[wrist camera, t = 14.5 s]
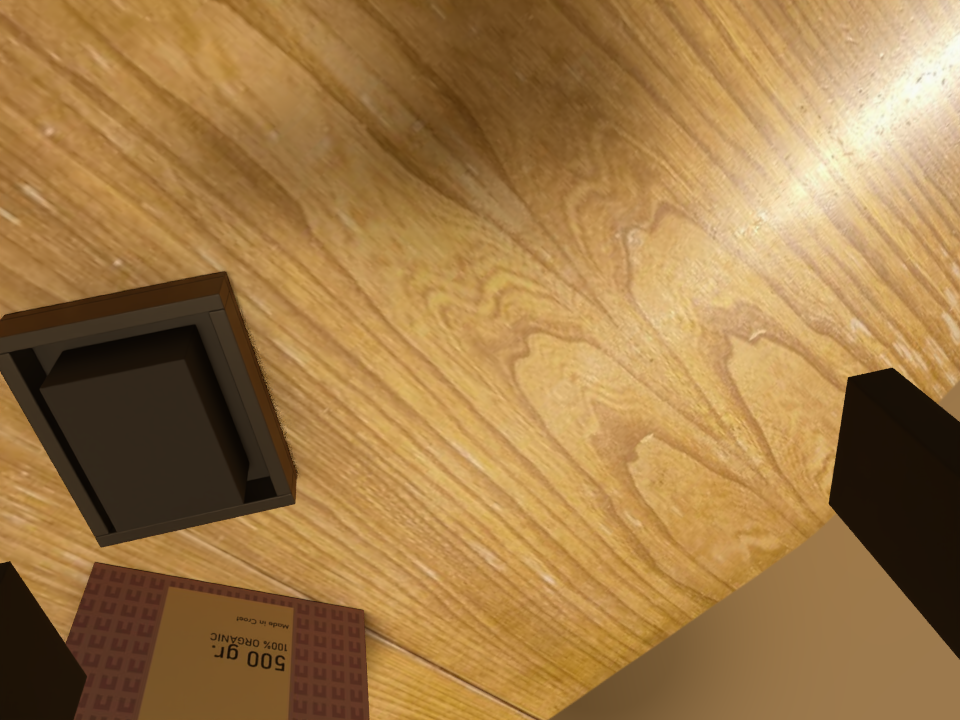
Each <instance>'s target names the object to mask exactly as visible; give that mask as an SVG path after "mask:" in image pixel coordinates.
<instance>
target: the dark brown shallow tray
mask: <svg viewBox="0 0 960 720" xmlns="http://www.w3.org/2000/svg"><path fill="white" fill-rule="evenodd" d="M190 325H196V327H197V330H198V332H199V335H200V337H201V340H202V343H203V345H204V348H205V350H206V353H207V355H208V358H209V361H210V363H211V366H212V368H213V371H214V373H215V376H216V378H217V381H218V384H219V386H220V389H221V391H222V394H223V396H224V399H225V402H226V404H227V407H228V409H229V412H230V414H231V417H232V420H233V422H234V425H235V427H236V430H237V432H238V435H239V438H240V440H241V443H242V445H243V448H244V450H245V453H246V455H247V458H248V461H249V470H248V477H247V484H246V491H245V498H244V504H243V505H240V506H235V507H231V508H226V509H222V510H217V511H213V512H208V513H204V514H199V515H195V516H190V517H186V518H181V519H177V520H172V521H168V522H163V523H159V524H154V525H150V526H145V527H141V528H136V529H132V530H127V531H123V532H117V531H116V529H115V527H114V525H113V524H112V522H111V520H110V518H109V516H108V514H107V513H106V511H105V509H104V507H103V505H102V503H101V502H100V500H99V498H98V496H97V494H96V492H95V491H94V489H93V487H92V485H91V483H90V481H89V480H88V478H87V476H86V474H85V472H84V470H83V469H82V467H81V465H80V463H79V461H78V459H77V458H76V456H75V454H74V452H73V450H72V448H71V447H70V445H69V443H68V441H67V439H66V437H65V436H64V434H63V432H62V430H61V428H60V426H59V425H58V423H57V421H56V419H55V417H54V415H53V414H52V412H51V410H50V408H49V406H48V404H47V403H46V401H45V399H44V397H43V395H42V393H41V392H40V387H41V386H42V384H43V382H44V381H45V379H46V377H47V376H48V374H49V372H50V371H51V369H52V367H53V366H54V364H55V363H56V361H57V359H58V358H59V356H60V354H61V353H62V352H63V351H66V350H71V349H76V348H81V347H86V346H91V345H96V344H101V343H106V342H111V341H116V340H121V339H126V338H130V337H135V336H140V335H145V334H150V333H155V332H160V331H165V330H170V329H175V328H180V327H185V326H190ZM0 372H1V374H2V375H3V377H4V379H5V381H6V382H7V384H8V386H9V388H10V389H11V391H12V393H13V395H14V396H15V398H16V400H17V402H18V403H19V405H20V407H21V409H22V410H23V412H24V414H25V416H26V417H27V419H28V421H29V423H30V424H31V426H32V428H33V430H34V431H35V433H36V435H37V437H38V438H39V440H40V442H41V444H42V445H43V447H44V449H45V451H46V452H47V454H48V456H49V457H50V459H51V461H52V463H53V464H54V466H55V468H56V470H57V471H58V473H59V475H60V477H61V478H62V480H63V482H64V484H65V485H66V487H67V489H68V491H69V492H70V494H71V496H72V498H73V499H74V501H75V503H76V505H77V506H78V508H79V510H80V512H81V513H82V515H83V517H84V519H85V520H86V522H87V524H88V526H89V527H90V529H91V531H92V533H93V534H94V536H95V538H96V540H97V542H98V544H99V545H100V547H106V546H110V545H114V544H119V543H123V542H128V541H132V540H137V539H141V538H146V537H150V536H155V535H159V534H164V533H168V532H172V531H177V530H181V529H186V528H190V527H195V526H199V525H204V524H208V523H213V522H217V521H222V520H226V519H231V518H235V517H239V516H244V515H248V514H253V513H257V512H262V511H266V510H271V509H275V508H280V507H284V506H289V505H293V504H295V500H296V480H297V473H296V471H295V468H294V465H293V462H292V459H291V456H290V453H289V451H288V448H287V445H286V442H285V439H284V436H283V434H282V431H281V428H280V425H279V422H278V419H277V417H276V414H275V411H274V408H273V405H272V402H271V399H270V397H269V394H268V391H267V388H266V385H265V382H264V380H263V377H262V374H261V371H260V368H259V365H258V363H257V360H256V357H255V354H254V351H253V348H252V345H251V343H250V340H249V337H248V334H247V331H246V328H245V326H244V323H243V320H242V317H241V314H240V311H239V309H238V306H237V303H236V300H235V297H234V294H233V292H232V289H231V286H230V283H229V280H228V277H227V274H226V272H220V273H215V274H210V275H205V276H200V277H195V278H190V279H185V280H180V281H175V282H170V283H165V284H160V285H155V286H150V287H145V288H140V289H135V290H130V291H125V292H120V293H115V294H110V295H105V296H100V297H95V298H90V299H85V300H80V301H75V302H70V303H65V304H60V305H55V306H50V307H45V308H40V309H35V310H29V311H24V312H19V313H14V314H9V315H4V316H3V317H2V318H1V320H0Z"/></svg>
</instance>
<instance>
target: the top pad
mask: <svg viewBox="0 0 960 720" xmlns="http://www.w3.org/2000/svg"><path fill="white" fill-rule="evenodd" d="M40 392H41V393H42V395H43V397H44V399H45V401H46V403H47V404H48V406H49V408H50V410H51V412H52V414H53V415H54V417H55V419H56V421H57V423H58V425H59V426H60V428H61V430H62V432H63V434H64V436H65V437H66V439H67V441H68V443H69V445H70V447H71V448H72V450H73V452H74V454H75V456H76V458H77V459H78V461H79V463H80V465H81V467H82V469H83V470H84V472H85V474H86V476H87V478H88V480H89V481H90V483H91V485H92V487H93V489H94V491H95V492H96V494H97V496H98V498H99V500H100V502H101V503H102V505H103V507H104V509H105V511H106V513H107V514H108V516H109V518H110V520H111V522H112V524H113V525H114V527H115V529H116V531H117V532H123V531H127V530H132V529H136V528H141V527H145V526H150V525H154V524H159V523H163V522H168V521H172V520H177V519H181V518H186V517H190V516H195V515H199V514H204V513H208V512H213V511H217V510H222V509H226V508H231V507H235V506H240V505H243V504H244V498H245V491H246V484H247V477H248V470H249V461H248V458H247V455H246V453H245V450H244V448H243V445H242V443H241V440H240V438H239V435H238V432H237V430H236V427H235V425H234V422H233V420H232V417H231V414H230V412H229V409H228V407H227V404H226V402H225V399H224V396H223V394H222V391H221V389H220V386H219V384H218V381H217V378H216V376H215V373H214V371H213V368H212V366H211V363H210V361H209V358H208V355H207V353H206V350H205V348H204V345H203V343H202V340H201V337H200V335H199V332H198V330H197V327H196V325H190V326H185V327H180V328H175V329H170V330H165V331H160V332H155V333H150V334H145V335H140V336H135V337H130V338H126V339H121V340H116V341H111V342H106V343H101V344H96V345H91V346H86V347H81V348H76V349H71V350H66V351H63V352H62V353H61V354H60V356H59V358H58V359H57V361H56V363H55V364H54V366H53V367H52V369H51V371H50V372H49V374H48V376H47V377H46V379H45V381H44V382H43V384H42V386H41V387H40Z"/></svg>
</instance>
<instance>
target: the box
mask: <svg viewBox="0 0 960 720" xmlns="http://www.w3.org/2000/svg"><path fill="white" fill-rule="evenodd" d="M66 645H67V647H68V648H69V650H70V651H71V653H72V654H73V656H74V657H75V659H76V660H77V662H78V663H79V665H80V666H81V668H82V669H83V671H84V672H85V674H86V675H87V679H86V682H85V685H84V688H83V692H82V695H81V698H80V701H79V704H78V708H77V711H76V714H75V717H74V720H369V701H368V682H367V663H366V644H365V625H364V610H358V609H353V608H347V607H341V606H336V605H330V604H325V603H319V602H313V601H308V600H302V599H297V598H291V597H285V596H280V595H274V594H269V593H263V592H257V591H252V590H246V589H240V588H235V587H229V586H224V585H218V584H212V583H207V582H201V581H196V580H190V579H184V578H179V577H173V576H168V575H162V574H156V573H151V572H145V571H139V570H134V569H128V568H123V567H117V566H111V565H106V564H100V563H94V566H93V569H92V572H91V574H90V577H89V580H88V583H87V586H86V588H85V591H84V594H83V597H82V600H81V602H80V605H79V608H78V611H77V614H76V616H75V619H74V622H73V625H72V628H71V630H70V633H69V636H68V639H67V641H66Z"/></svg>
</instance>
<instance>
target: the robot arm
mask: <svg viewBox="0 0 960 720" xmlns="http://www.w3.org/2000/svg"><path fill="white" fill-rule="evenodd" d="M829 505H830V506H831V507H832V508H833V510H834V511H835V512H836V513H837V514H838V516H839V517H840V518H841V519H842V520H843V521H844V523H845V524H846V525H847V526H848V527H849V529H850V530H851V531H852V532H853V533H854V535H855V536H856V537H857V538H858V539H859V540H860V542H861V543H862V544H863V545H864V546H865V548H866V549H867V550H868V551H869V552H870V553H871V555H872V556H873V557H874V558H875V559H876V561H877V562H878V563H879V564H880V565H881V567H882V568H883V569H884V570H885V571H886V573H887V574H888V575H889V576H890V577H891V578H892V580H893V581H894V582H895V583H896V584H897V586H898V587H899V588H900V589H901V590H902V592H903V593H904V594H905V595H906V596H907V597H908V599H909V600H910V601H911V602H912V603H913V604H914V606H915V607H916V608H917V609H918V610H919V612H920V613H921V614H922V615H923V616H924V618H925V619H926V620H927V621H928V622H929V624H930V625H931V626H932V627H933V628H934V630H935V631H936V632H937V633H938V634H939V635H940V637H941V638H942V639H943V640H944V641H945V643H946V644H947V645H948V646H949V647H950V649H951V650H952V651H953V652H954V653H955V655H956V656H957V657H958V658H959V659H960V422H959V421H958V420H957V419H955V418H954V417H953V416H951V415H950V414H949V413H948V412H947V411H945V410H944V409H943V408H942V407H940V406H939V405H938V404H937V403H936V402H934V401H933V400H932V399H931V398H929V397H928V396H927V395H926V394H925V393H923V392H922V391H921V390H920V389H918V388H917V387H916V386H915V385H913V384H912V383H911V382H910V381H909V380H907V379H906V378H905V377H904V376H902V375H901V374H900V373H899V372H897V371H896V370H895V369H894V368H888V369H884V370H879V371H875V372H870V373H866V374H861V375H857V376H852V377H848V380H847V387H846V394H845V400H844V407H843V413H842V420H841V426H840V433H839V439H838V446H837V452H836V459H835V465H834V472H833V479H832V485H831V492H830V498H829ZM86 679H87V675H86V674H85V672H84V671H83V669H82V668H81V666H80V665H79V663H78V662H77V660H76V659H75V657H74V656H73V654H72V653H71V651H70V650H69V648H68V647H67V645H66V644H65V642H64V641H63V639H62V638H61V636H60V635H59V633H58V632H57V630H56V629H55V627H54V626H53V624H52V623H51V622H50V620H49V619H48V617H47V616H46V614H45V613H44V611H43V610H42V608H41V607H40V605H39V604H38V602H37V601H36V599H35V598H34V596H33V595H32V593H31V592H30V590H29V589H28V587H27V586H26V584H25V583H24V581H23V580H22V578H21V577H20V575H19V574H18V572H17V571H16V569H15V568H14V567H13V565H12V564H11V562H10V561H9V562H5V563H0V720H74V717H75V714H76V711H77V708H78V704H79V701H80V698H81V695H82V692H83V688H84V685H85V682H86Z"/></svg>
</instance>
